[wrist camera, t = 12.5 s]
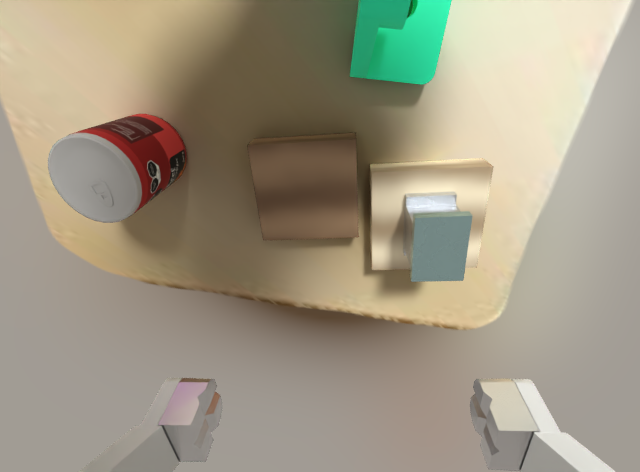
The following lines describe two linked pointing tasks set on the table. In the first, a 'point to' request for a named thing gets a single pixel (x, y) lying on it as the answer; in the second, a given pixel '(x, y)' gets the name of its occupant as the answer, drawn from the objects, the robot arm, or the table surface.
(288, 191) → the stand
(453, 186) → the stand
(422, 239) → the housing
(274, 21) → the table surface
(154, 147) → the canned food
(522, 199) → the table surface
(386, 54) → the camera mount
